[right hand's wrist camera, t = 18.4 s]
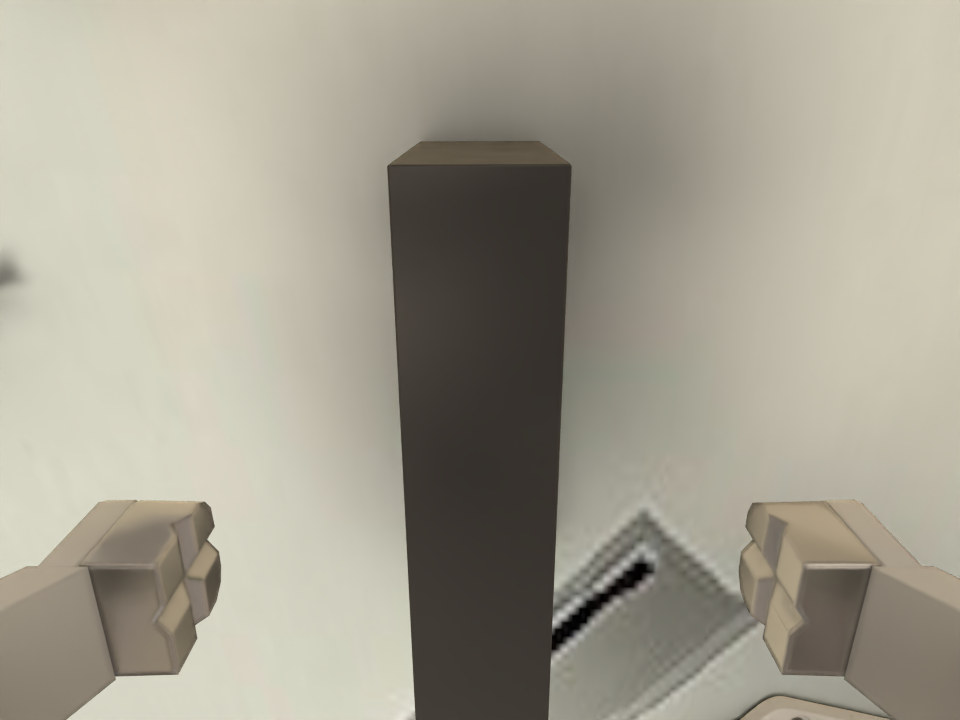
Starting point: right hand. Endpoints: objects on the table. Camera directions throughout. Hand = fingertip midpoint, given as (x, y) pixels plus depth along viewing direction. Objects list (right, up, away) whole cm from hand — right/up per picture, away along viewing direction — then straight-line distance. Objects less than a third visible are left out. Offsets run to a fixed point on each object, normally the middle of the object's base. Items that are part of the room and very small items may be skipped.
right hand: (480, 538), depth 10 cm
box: (0, +2, +28) cm, 28 cm away
